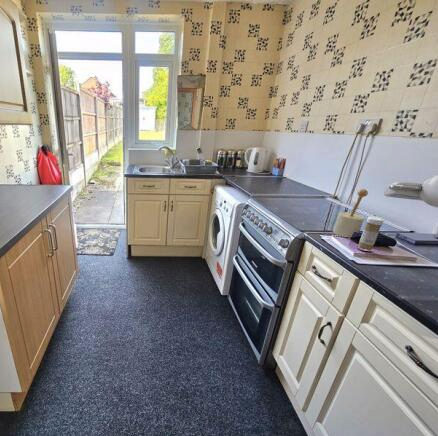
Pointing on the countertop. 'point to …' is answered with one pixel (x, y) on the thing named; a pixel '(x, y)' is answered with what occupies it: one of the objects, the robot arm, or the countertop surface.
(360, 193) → the utensil crock
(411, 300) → the countertop surface
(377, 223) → the sprinkles bottle
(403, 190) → the robot arm
